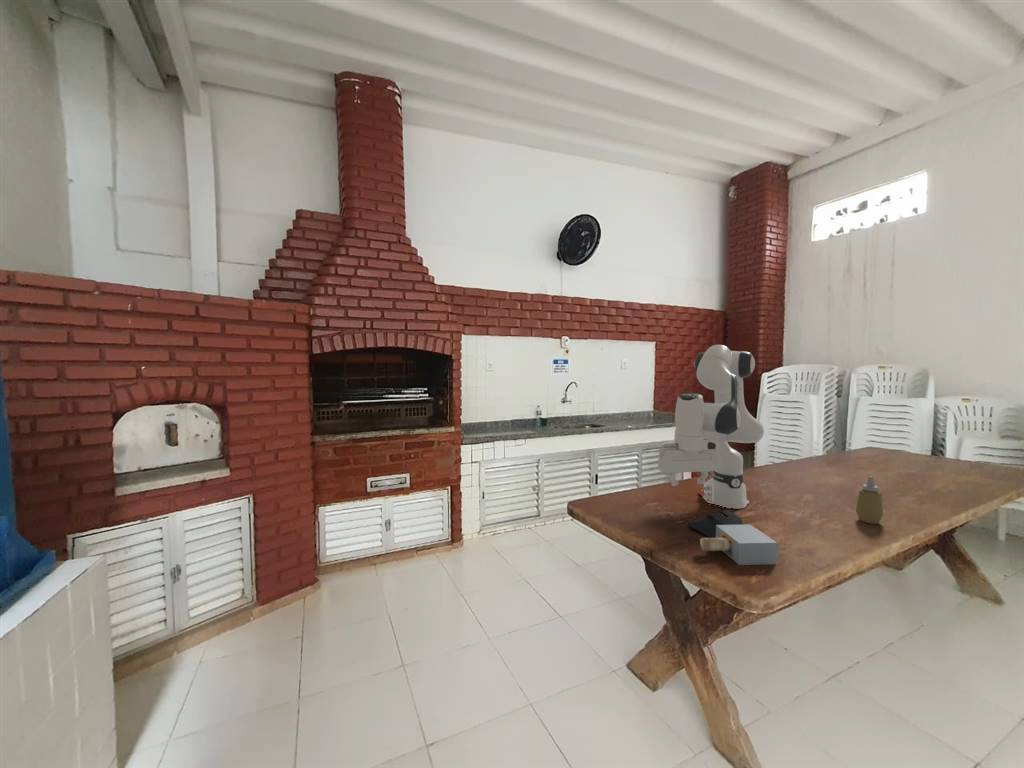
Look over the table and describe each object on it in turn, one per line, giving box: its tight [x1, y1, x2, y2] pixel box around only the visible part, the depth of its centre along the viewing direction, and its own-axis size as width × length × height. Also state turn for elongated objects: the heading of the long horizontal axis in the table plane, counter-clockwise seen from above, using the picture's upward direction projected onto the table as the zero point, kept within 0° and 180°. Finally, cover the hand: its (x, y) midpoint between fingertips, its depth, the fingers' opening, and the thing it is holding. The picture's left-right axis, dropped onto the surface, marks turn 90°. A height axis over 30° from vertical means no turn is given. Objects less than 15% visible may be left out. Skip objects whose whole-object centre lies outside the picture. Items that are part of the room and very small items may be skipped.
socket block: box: [716, 524, 778, 566], centre depth 134 cm, size 14×12×7 cm
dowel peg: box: [699, 537, 731, 552], centre depth 134 cm, size 4×12×4 cm, turn 91°
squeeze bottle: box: [855, 475, 884, 525], centre depth 159 cm, size 8×8×18 cm
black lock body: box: [687, 509, 745, 538], centre depth 156 cm, size 15×22×5 cm
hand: (687, 484), depth 133 cm, fingers open, 8 cm apart
